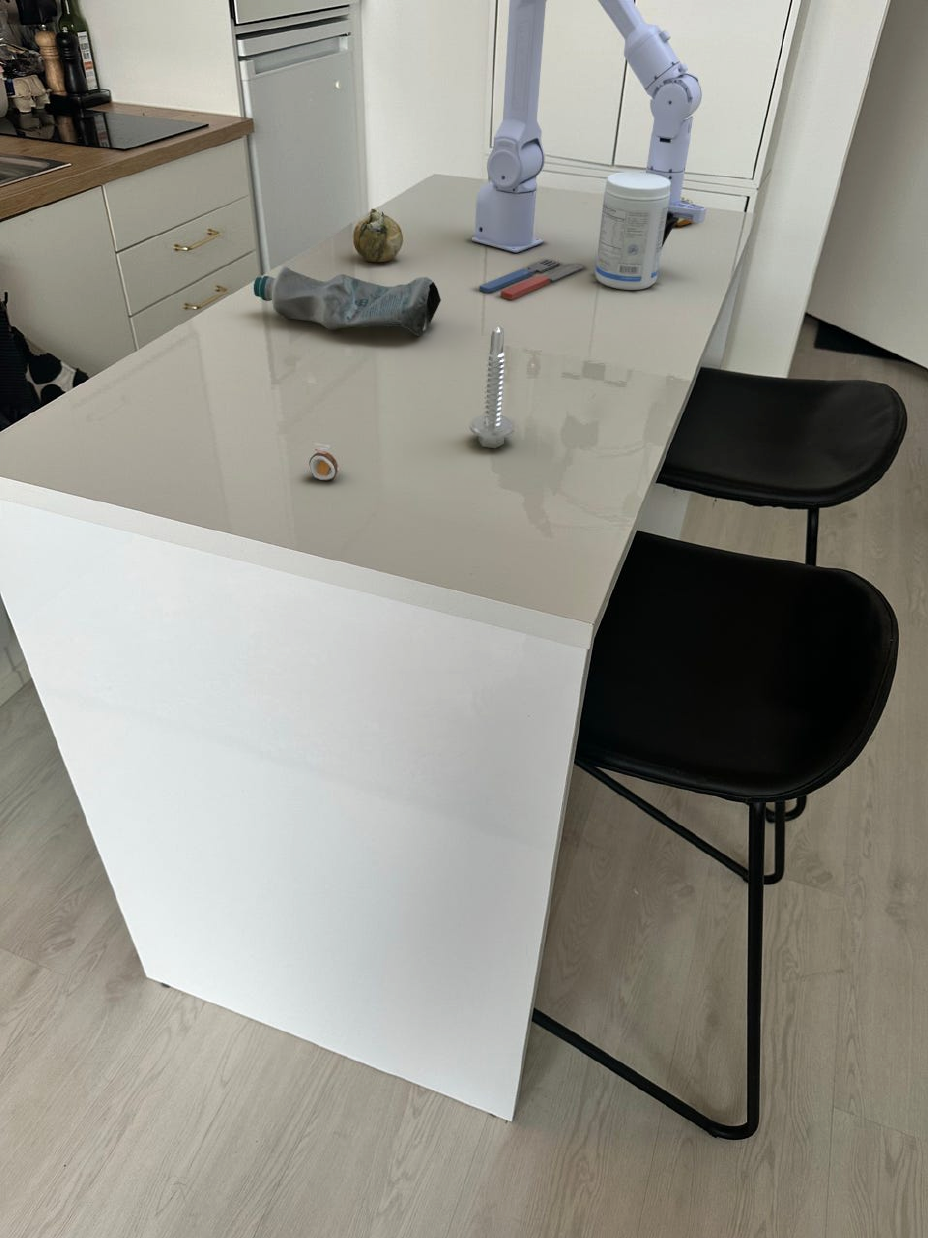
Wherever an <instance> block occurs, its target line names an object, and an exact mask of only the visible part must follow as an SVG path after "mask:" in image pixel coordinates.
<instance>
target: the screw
mask: <svg viewBox="0 0 928 1238" xmlns="http://www.w3.org/2000/svg"><path fill="white" fill-rule="evenodd" d="M490 336H491V337H490V347H489V348H488V350H489V353H487V356H488V358H487V359H486V361H487V362H488V364H486V367H487V369H486V370H485V371H486V373H487V375H486V376H485V377H486V379H487V380H485V383H486V384H487V385H485V389H486V391H485V392H484V393H485V395H486V396H485V397H484V400H486V401H484V405H485V407H484V410H485V412H483V414H479V415H476V416H475V417H474V418H472V419H471V420H470V421H469V430H470V432H472V433H473V434H474V435H476V436H478V442H479V444H480V445H481V447H483V448H490V449H497V448H499V447H501V446H503V445H504V444H505V438H506V437H510V436H511V435H513V433H514V432H515V428H516V426H515V423H514V422H513V421H512V420H511V419H510V418H509V417H507V416H505V415H502V413H503V411H502V409H503V405H502V403H503V401H504V400H503V397H504V395H503V393H504V389H503V388H504V387H505V386H504V382H505V378H504V377H505V370H506V368H505V366H506V362H505V361H506V356H505V354H506V351H505V350H504V347H505V346H504V345H505V331H504V328H503V327H501V326H500V325H497V326H495V327H494V328H493V329H492V332H491V335H490Z"/></svg>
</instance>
